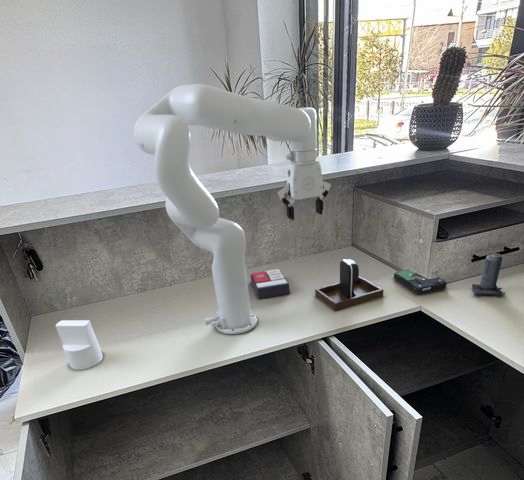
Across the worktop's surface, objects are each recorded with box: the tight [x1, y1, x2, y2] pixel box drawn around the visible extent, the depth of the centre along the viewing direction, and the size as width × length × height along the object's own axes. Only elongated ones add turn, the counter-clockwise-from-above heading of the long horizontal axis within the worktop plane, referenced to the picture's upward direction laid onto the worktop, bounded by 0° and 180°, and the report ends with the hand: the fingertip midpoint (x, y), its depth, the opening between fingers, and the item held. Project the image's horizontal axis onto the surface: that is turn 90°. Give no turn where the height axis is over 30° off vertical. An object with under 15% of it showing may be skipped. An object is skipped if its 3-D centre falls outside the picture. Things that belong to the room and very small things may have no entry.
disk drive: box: [393, 268, 447, 296], centre depth 144 cm, size 10×3×15 cm
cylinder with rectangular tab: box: [55, 319, 104, 370], centre depth 120 cm, size 9×9×12 cm
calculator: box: [250, 268, 290, 300], centre depth 151 cm, size 11×4×15 cm
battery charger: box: [339, 258, 360, 299], centre depth 138 cm, size 7×4×11 cm, turn 17°
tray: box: [314, 276, 384, 312], centre depth 141 cm, size 18×13×3 cm
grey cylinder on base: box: [471, 252, 506, 297], centre depth 132 cm, size 9×8×12 cm
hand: (305, 216), depth 135 cm, fingers open, 9 cm apart
